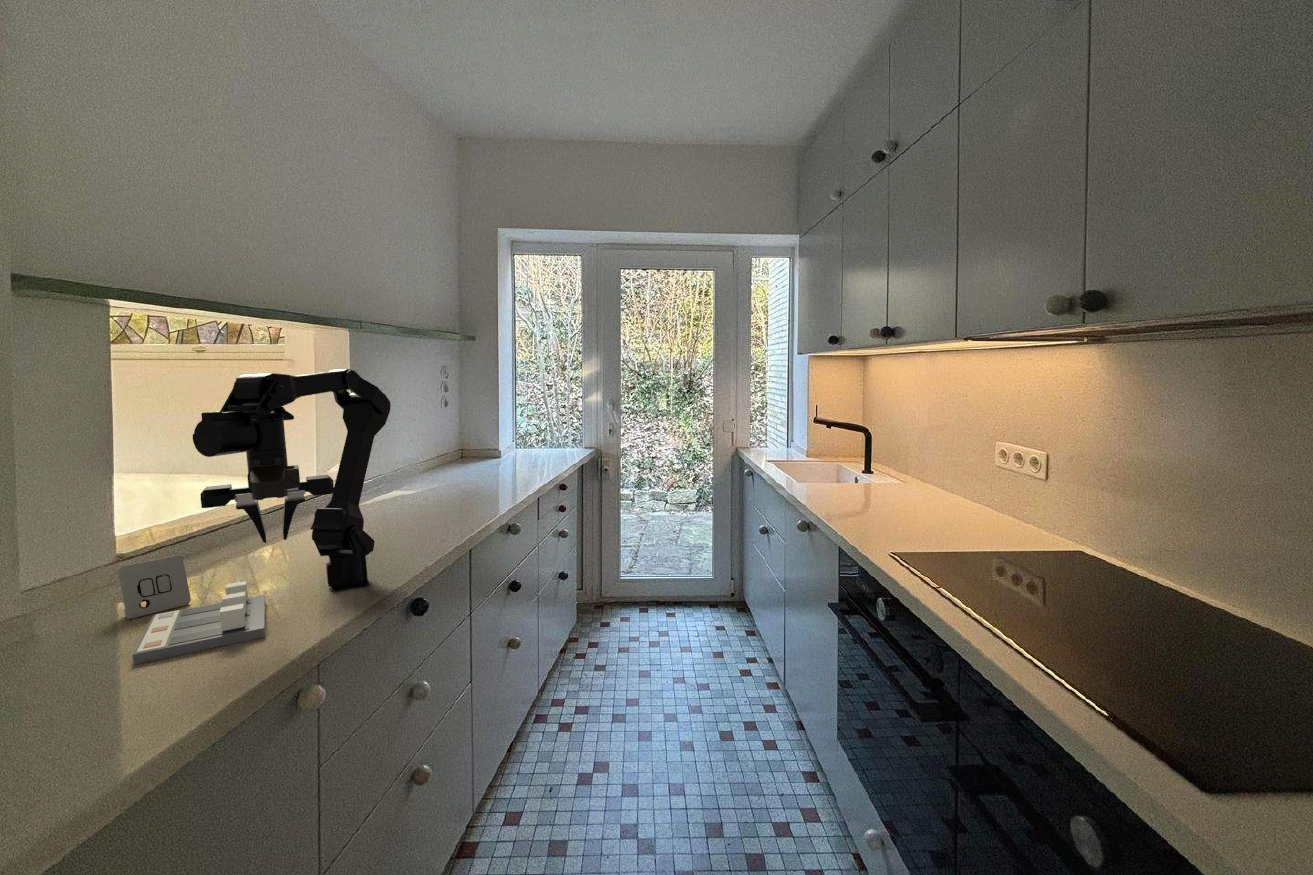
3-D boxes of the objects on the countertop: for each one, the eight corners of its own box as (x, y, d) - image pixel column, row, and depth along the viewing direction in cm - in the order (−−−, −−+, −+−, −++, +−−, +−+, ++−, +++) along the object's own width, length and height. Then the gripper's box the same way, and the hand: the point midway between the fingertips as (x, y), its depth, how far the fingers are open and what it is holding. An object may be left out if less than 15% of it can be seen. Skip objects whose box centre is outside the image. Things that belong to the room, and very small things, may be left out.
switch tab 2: (246, 608, 106) (245, 591, 106) (246, 613, 104) (244, 595, 104) (225, 612, 104) (223, 595, 104) (224, 617, 102) (222, 599, 102)
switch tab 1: (248, 597, 112) (246, 580, 112) (247, 601, 110) (246, 584, 110) (227, 600, 110) (226, 584, 110) (227, 604, 108) (225, 587, 108)
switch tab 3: (245, 621, 100) (243, 603, 100) (245, 626, 98) (243, 607, 98) (222, 626, 98) (220, 607, 98) (221, 631, 96) (219, 612, 96)
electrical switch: (127, 621, 108) (119, 567, 107) (119, 617, 111) (112, 566, 111) (192, 604, 115) (185, 554, 115) (184, 602, 118) (177, 553, 118)
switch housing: (265, 602, 114) (264, 593, 114) (265, 637, 98) (263, 626, 98) (154, 623, 106) (153, 613, 106) (133, 664, 90) (132, 653, 90)
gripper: (192, 459, 93) (203, 561, 95) (332, 447, 103) (340, 541, 104) (199, 453, 103) (209, 546, 104) (327, 443, 112) (335, 528, 114)
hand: (275, 540), depth 106 cm, fingers open, 3 cm apart
